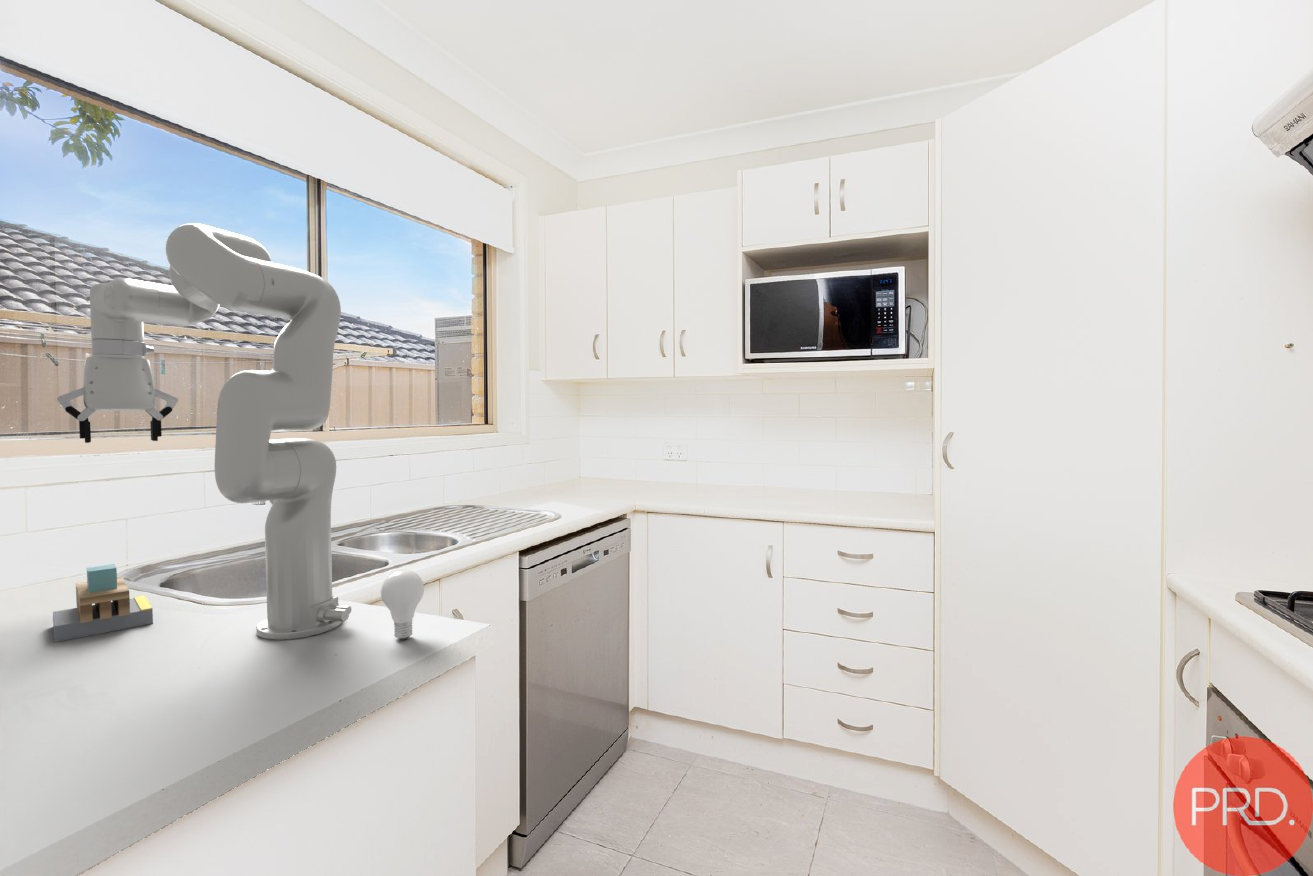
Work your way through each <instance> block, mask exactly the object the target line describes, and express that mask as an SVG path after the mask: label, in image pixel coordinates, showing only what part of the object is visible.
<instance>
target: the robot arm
mask: <svg viewBox="0 0 1313 876" xmlns="http://www.w3.org/2000/svg"><path fill="white" fill-rule="evenodd" d="M165 255H166V259H167V261H168V263H169V268H168V277H169V281H170V283H171V285H169V284H163V283H158V282H157V283H156V282H152V281H146V280H145V281H144V280H141V279H140V280H139V279H133V278H125V277H121V278H115V279H113V280H110V281H109V282H102V283H101V282H99V283H95V284H93V285H92V286H91V287H90V289H89V309H90V311H89V313H90V334H91V337H90V338H91V356H87V357H86V359H85V362H84V370H83V387H81V388H78V389H76V390H72V391H70V392H67V393H65V394H61V395H58V396H57V397H56V400H57V402H58V403H59V404H60V406H61V407H62V408H63V409H64V411H65V412H66V413H67V414H69V415H71V416H72V417H73V418H74V419H76V420H77V421H78V430H79V431H78V432H79V439H84V443H86V444H89V443H92V436H91V435H92V434H91V432H92V431H91V421H89V417H90V416H92V415H93V413H95V412H96V411H103V412H105V411H107V412H109V411H113V412H118V411H119V412H120V411H123V412H124V411H125V412H126V411H127V412H129V411H131V412H133V411H134V412H136V411H137V412H138V411H139V412H140V411H141V412H142V411H145V412H146V414H148V415H149V416H150V417H151V420H150V421H149V422H150V441H153V442H158V441H159V438H161V437H162V433H163V432H162V421H163V419H164V418H166V417H167V416H168V415H169V414H171V412H173V411H174V410H173V409H174V408H175V406H176V405H177V403H178V402H179V399H178V397H176V396H173V395H171V394H168V393H167V392H164V391H161V390H159V389H157V388H155V381H154V375H153V370H152V366H151V362H150V359H147V358H145V357H146V356H147V355H149V354H150V355H151V354H152V355H155V348H154V346H149V345H147V344H146V343H145V331H144V324H145V323H148V324H156V325H165V326H170V327H171V326H172V327H189V326H192V325H196V324H199V323H202V322H205V321H207V320H210V319H212V318H213V317H214V316H215V315H216V313H217V311H218V310H219V308H220V306H221V307H222V308H225V309H228V310H232V311H236V312H240V313H249V314H254V315H260V316H267V317H275V318H282V319H286V320H289V322H288V323H286V325H285V326H284V327H283V328H281V331H280V332H279V334H278V336H277V337H276V339H275V341H274V345H273V357H272V358H273V359H272V367H271V370H256V369H255V370H254V369H250V370H242V371H239V372H237V373H235V374H233V375H232V376H231V377H229V378H228V379H227V380H226V381H225V382H224V384H223V385H222V389H221V390H220V392H219V396H218V400H217V408H216V427H215V430H216V431H215V446H214V447H215V448H214V450H215V451H214V478H215V479H214V480H215V483H216V486H217V489H218V490H219V492H220V493H221V495H222V496H223V497H224V498H225V499H226V500H228V501H230V502H232V503H233V502H234V503H237V504H253V503H260V502H267V501H273V504H272V505H271V507H270V509H269V511H268V513H267V516H266V520H265V526H264V544H265V546H264V548H265V551H264V552H265V576H266V577H265V579H266V581H265V583H266V585H265V586H266V610H267V612H266V613H267V615H266V617H267V618H266V619H263V620H261V621H260V622H259V623H258V624H257V625H256V629H255V631H256V632H255V633H256V635H257V636H258V637H260V638H262V639H266V640H277V641H278V640H293V639H301V638H306V637H307V638H308V637H312V636H315V635H320V634H322V633H325V632H328V631H330V630H334V629H335V628H337V627H338V626H339V625H341V624H342V623H343V622H347V621H348V619H349V617H350V614H351V613H352V606H350V605H340V604H339V596H334V595H333V569H332V566H333V564H332V562H333V561H332V499H333V493H334V492H333V490H334V487H335V482H336V475H337V459H336V457H335V455H334V453H333V451H332V449H331V448H330V447H329V446H328V445H327V444H325V443H323V442H321V441H320V440H317V439H312V438H300V437H299V438H298V437H295V438H279V439H277V438H276V439H271V434H272V433H278V432H279V433H280V432H302V431H303V432H304V431H309V430H315V429H318V428H320V427H322V426H323V425H324V424H325V423H326V422H327V420H328V418H329V414H330V410H331V409H330V407H331V400H332V399H331V398H332V385H333V384H332V382H333V367H334V350H335V343H336V340H337V336H338V332H339V331H338V330H339V327H340V323H341V317H342V316H341V315H342V311H341V309H342V308H341V301H340V298H339V295H338V293H337V291H336V290H335V289H334V286H332V285H331V283H330V282H329V281H327V280H326V279H324V278H323V277H321V276H320V275H317V274H314V273H311V272H309V271H306V270H303V269H301V268H296V267H293V266H288V265H284V264H281V263H275V262H273V261H272V257H271V256H270V255H271V254H269V252H268V251H267V249H266V248H265V247H264V245H262V244H261V243H259V241H256V240H255V239H253V238H251V237H248V236H245V235H242V234H239V233H235V232H231V231H228V230H225V229H221V228H218V227H217V228H216V227H213V226H210V225H205V224H202V223H194V222H193V223H191V222H190V223H184V224H181V225H180V226H177V227H176V228H175V229H173V230H172V231H171V232H170V234H169V236H168V237H167V239H166V243H165ZM82 396H83V406H84V407H85V408H84V409H83V410H82V411H79V410H77V409H76V408H75V407H74V406H73V405H72V403H71V400H74V399H76V398H78V397H82ZM156 398H159V399H161V400H164V401H166V405H165V406H164V407H163V408H162V409H161V410H159V411H158V410H157V409H156V408H155V407H156Z"/></svg>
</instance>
